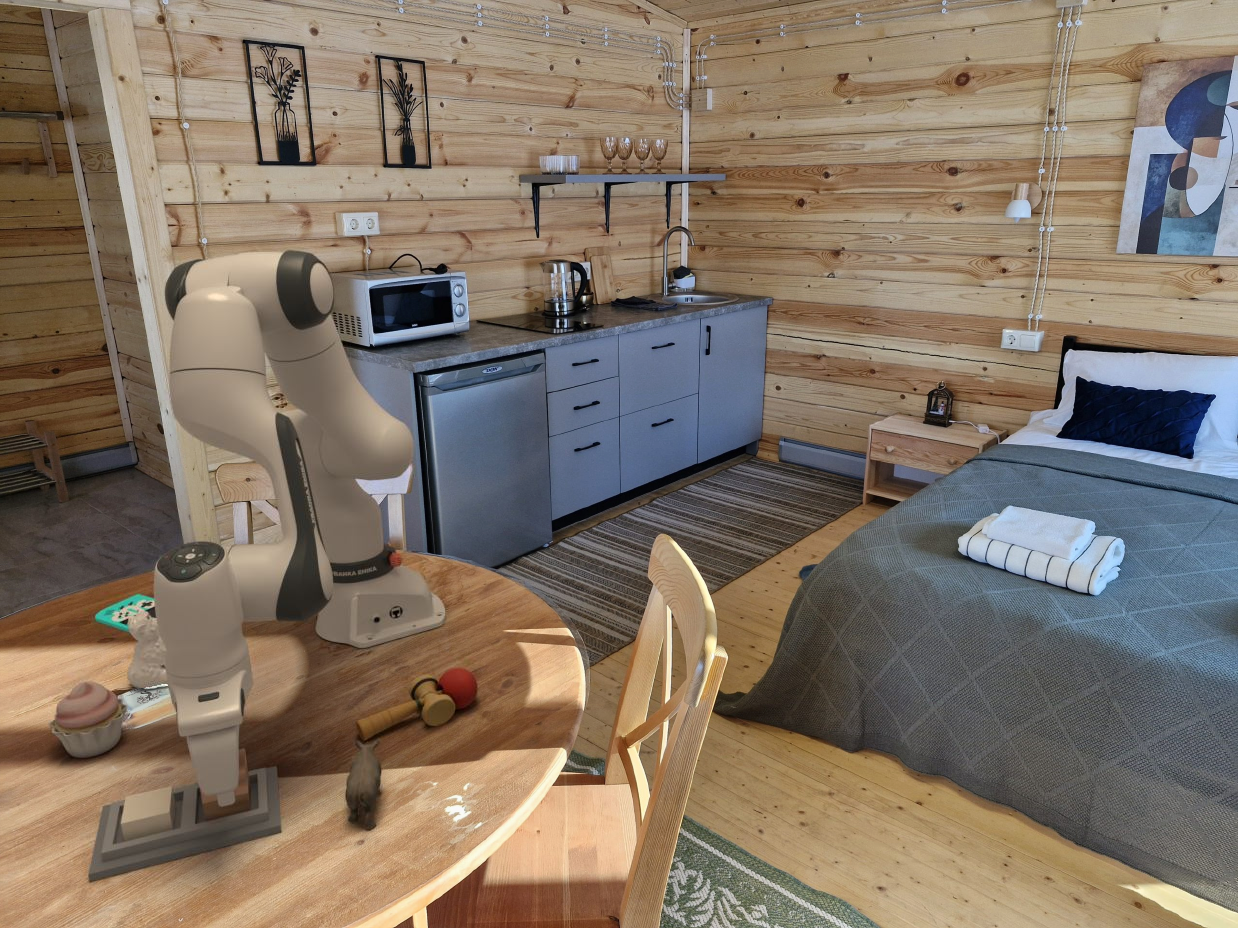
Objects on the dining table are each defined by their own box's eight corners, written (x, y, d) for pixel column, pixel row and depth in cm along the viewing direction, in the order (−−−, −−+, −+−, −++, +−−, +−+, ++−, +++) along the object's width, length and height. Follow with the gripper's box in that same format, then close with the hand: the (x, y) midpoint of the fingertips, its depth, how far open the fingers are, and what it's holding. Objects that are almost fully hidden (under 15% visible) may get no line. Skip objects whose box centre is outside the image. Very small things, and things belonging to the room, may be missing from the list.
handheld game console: (140, 598, 161) (139, 592, 161) (199, 616, 155) (198, 609, 154) (89, 621, 153) (88, 614, 152) (149, 641, 146) (148, 634, 146)
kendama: (375, 763, 117) (491, 705, 126) (362, 723, 115) (480, 667, 124) (358, 743, 123) (470, 689, 132) (346, 705, 122) (459, 653, 131)
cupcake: (77, 775, 112) (63, 709, 109) (42, 751, 117) (27, 687, 113) (147, 738, 119) (135, 676, 116) (111, 717, 124) (98, 657, 121)
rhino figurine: (387, 759, 116) (383, 721, 114) (380, 829, 103) (376, 788, 101) (355, 762, 115) (352, 724, 113) (345, 834, 102) (340, 792, 100)
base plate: (277, 772, 113) (273, 746, 111) (281, 831, 102) (277, 804, 101) (104, 812, 105) (98, 785, 104) (89, 881, 95) (83, 852, 93)
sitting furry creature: (200, 680, 134) (189, 612, 130) (141, 703, 128) (128, 632, 124) (177, 658, 140) (165, 593, 136) (119, 679, 134) (106, 611, 130)
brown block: (207, 798, 106) (200, 757, 104) (250, 787, 108) (244, 748, 106) (206, 824, 102) (199, 782, 100) (251, 813, 104) (244, 771, 102)
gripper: (185, 642, 108) (201, 735, 112) (176, 733, 90) (196, 839, 94) (239, 632, 110) (253, 723, 114) (241, 719, 92) (257, 823, 96)
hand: (227, 776), depth 104 cm, fingers open, 8 cm apart
